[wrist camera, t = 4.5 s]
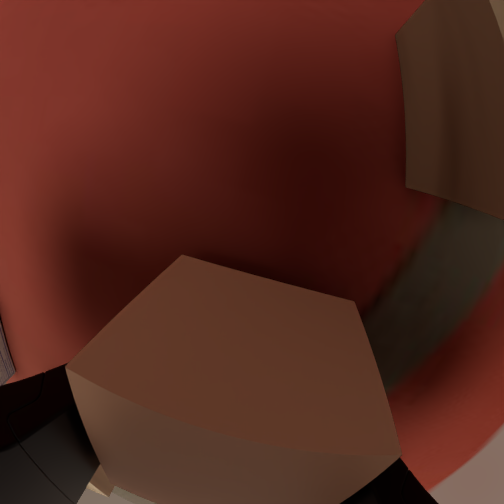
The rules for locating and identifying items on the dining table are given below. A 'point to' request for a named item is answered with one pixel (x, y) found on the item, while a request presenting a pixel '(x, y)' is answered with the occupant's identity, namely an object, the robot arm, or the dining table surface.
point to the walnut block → (455, 101)
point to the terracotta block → (234, 392)
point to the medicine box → (5, 360)
